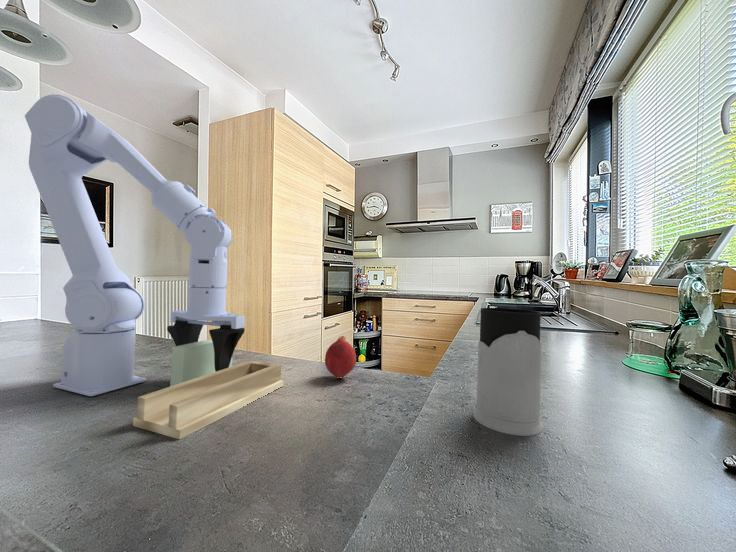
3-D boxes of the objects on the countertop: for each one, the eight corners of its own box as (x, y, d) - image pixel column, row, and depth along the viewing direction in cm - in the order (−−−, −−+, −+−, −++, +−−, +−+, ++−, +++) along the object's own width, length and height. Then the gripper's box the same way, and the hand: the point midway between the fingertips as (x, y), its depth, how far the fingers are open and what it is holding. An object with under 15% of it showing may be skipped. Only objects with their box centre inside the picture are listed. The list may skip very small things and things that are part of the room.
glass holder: (484, 433, 38) (488, 311, 38) (456, 392, 52) (459, 304, 52) (557, 437, 38) (560, 314, 38) (509, 395, 52) (511, 306, 52)
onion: (350, 385, 53) (352, 339, 54) (319, 382, 55) (321, 337, 55) (358, 375, 59) (360, 334, 59) (330, 373, 60) (331, 332, 60)
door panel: (169, 392, 48) (172, 346, 48) (221, 374, 57) (222, 336, 57) (181, 394, 47) (183, 348, 47) (231, 376, 56) (233, 338, 56)
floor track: (133, 425, 36) (134, 396, 36) (247, 380, 54) (247, 360, 54) (179, 439, 34) (181, 407, 34) (283, 386, 52) (284, 365, 52)
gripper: (258, 288, 53) (255, 367, 53) (196, 285, 58) (193, 357, 58) (227, 289, 47) (223, 379, 47) (160, 286, 52) (156, 367, 51)
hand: (204, 368), depth 52 cm, fingers open, 7 cm apart
